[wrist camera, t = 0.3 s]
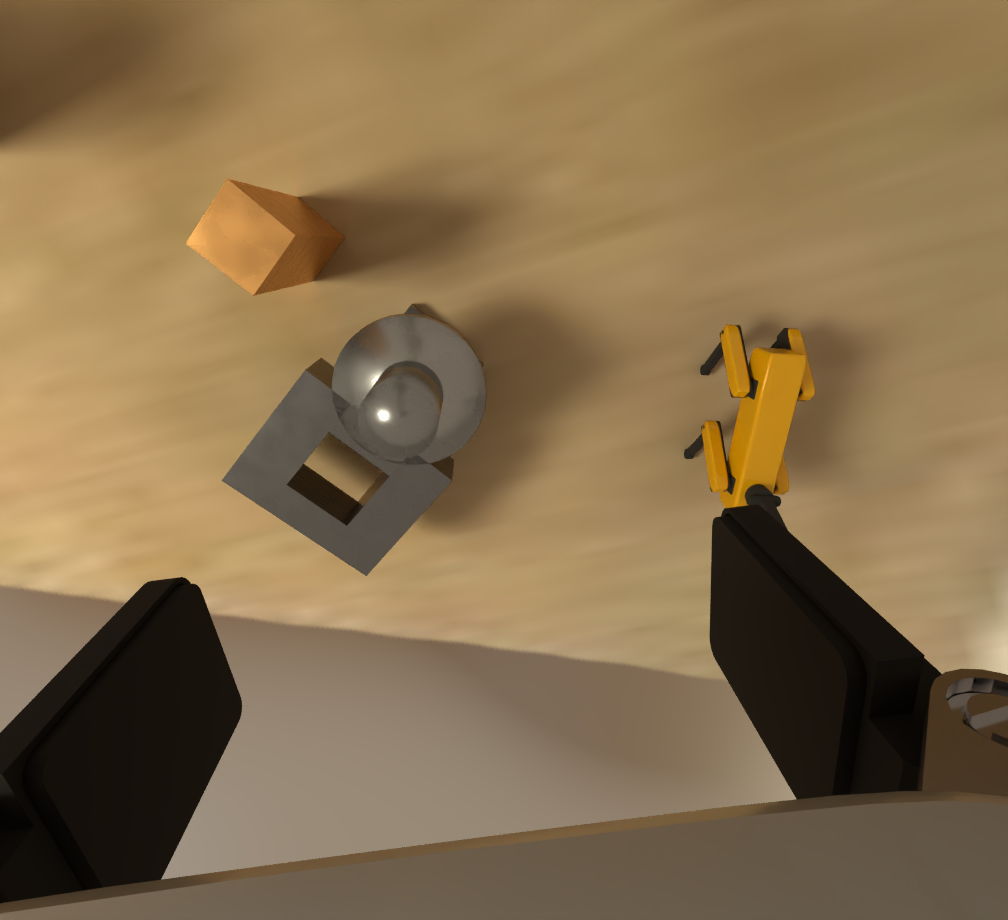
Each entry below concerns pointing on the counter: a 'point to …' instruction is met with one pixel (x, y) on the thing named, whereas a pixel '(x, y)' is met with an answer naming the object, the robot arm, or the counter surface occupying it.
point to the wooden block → (264, 238)
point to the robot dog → (756, 418)
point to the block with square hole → (369, 435)
